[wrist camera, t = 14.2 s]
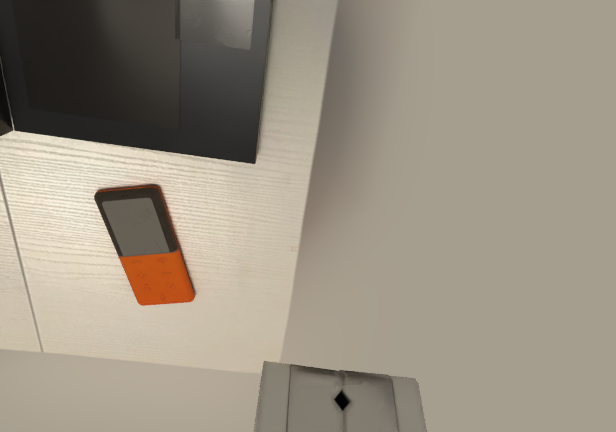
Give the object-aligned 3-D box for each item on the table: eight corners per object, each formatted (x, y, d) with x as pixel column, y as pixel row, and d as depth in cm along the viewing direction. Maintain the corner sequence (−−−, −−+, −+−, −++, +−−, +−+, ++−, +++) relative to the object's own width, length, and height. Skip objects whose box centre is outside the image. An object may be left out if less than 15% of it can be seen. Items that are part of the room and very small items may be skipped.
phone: (137, 308, 60) (90, 196, 51) (140, 300, 61) (94, 188, 53) (194, 304, 59) (156, 190, 51) (196, 295, 61) (159, 182, 52)
